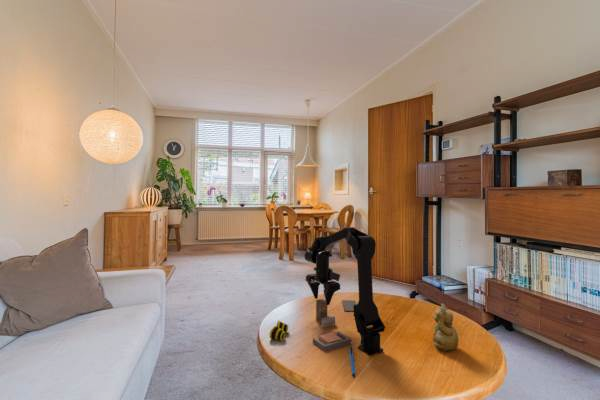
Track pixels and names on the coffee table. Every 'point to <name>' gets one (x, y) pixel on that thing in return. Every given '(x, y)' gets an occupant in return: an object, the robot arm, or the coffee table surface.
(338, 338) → the tile
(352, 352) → the pen
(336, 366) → the coffee table surface
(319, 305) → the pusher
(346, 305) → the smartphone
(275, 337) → the opera glasses
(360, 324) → the robot arm
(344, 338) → the tile bay
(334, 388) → the coffee table surface
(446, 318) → the decorative figurine
